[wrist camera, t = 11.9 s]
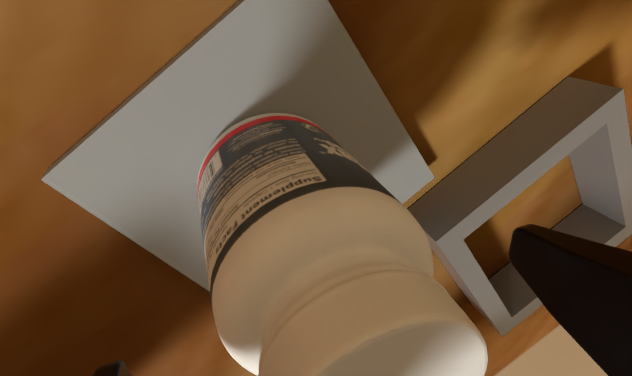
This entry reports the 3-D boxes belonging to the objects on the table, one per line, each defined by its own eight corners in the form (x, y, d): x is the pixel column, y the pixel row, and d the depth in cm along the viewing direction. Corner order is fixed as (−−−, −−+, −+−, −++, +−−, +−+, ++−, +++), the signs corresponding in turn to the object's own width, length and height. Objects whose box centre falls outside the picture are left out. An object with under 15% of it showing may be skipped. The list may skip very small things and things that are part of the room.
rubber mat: (254, 310, 17) (257, 323, 17) (47, 168, 12) (40, 179, 11) (424, 169, 17) (434, 177, 16) (291, -46, 11) (299, -48, 11)
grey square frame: (472, 304, 23) (502, 336, 21) (404, 211, 18) (435, 241, 16) (598, 203, 23) (642, 225, 20) (568, 76, 17) (623, 88, 15)
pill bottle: (359, 191, 15) (539, 389, 8) (250, 263, 15) (329, 532, 8) (298, 77, 12) (492, 223, 5) (161, 165, 12) (152, 450, 5)
